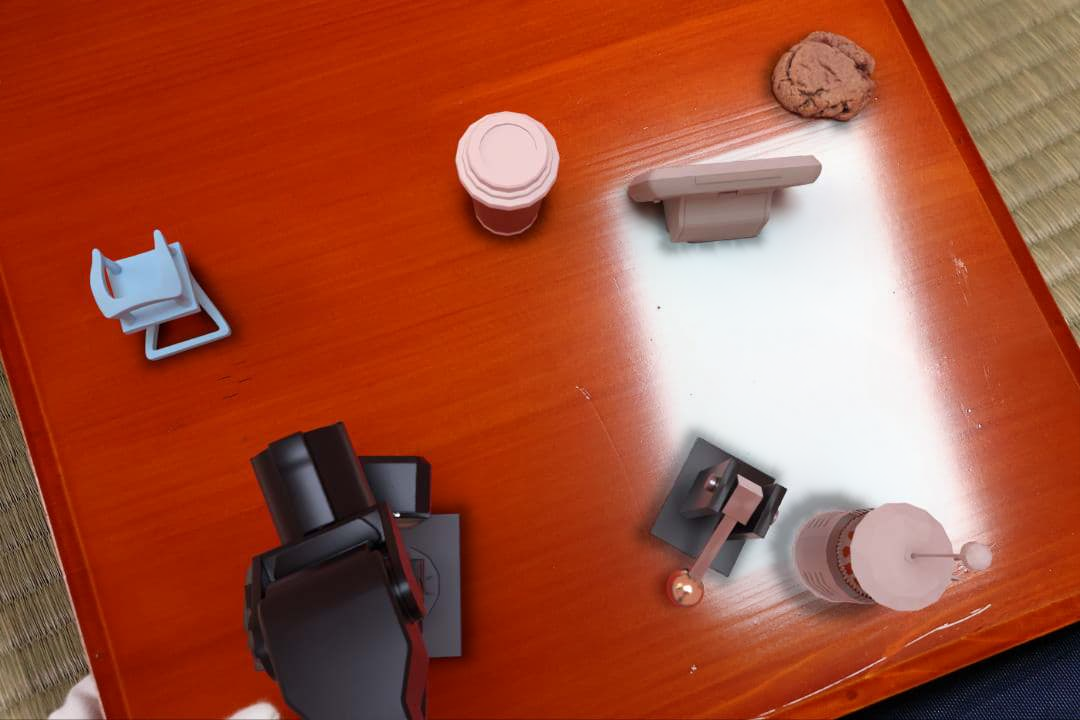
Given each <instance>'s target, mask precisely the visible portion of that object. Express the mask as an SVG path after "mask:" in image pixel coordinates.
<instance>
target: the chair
mask: <svg viewBox="0 0 1080 720" xmlns="http://www.w3.org/2000/svg"><path fill="white" fill-rule="evenodd" d="M153 239H154V249H152V250H148V251H146V252H142V253H139V254H136V255H132V256H128V257H126V258H122V259H118V260H115V261H114V260H112V259H110V258H108V257H106V256H104V254H103V253H102V252H101V251H100V250H99V249H98V248H94V249H92V252H91V253H92V255H91V257H92V260H91V261H92V263H91V267H90V277H89V281H90V282H89V284H90V288H91V292H92V295H93V298H94V300H95V302H96V304H97V306H98V308H99V310H100V311H101V313H102V315H103V316H104V317H105V318H107V319H115V320H119V321H120V324H121V325H120V326H121V329H122V333H124V334H125V335H127V336H128V335H132V334H134V333H137V332H138V333H139V332H140V331H143V330H146V331H145V332H146V333H145V356H146V358H147V359H148V360H150V361H158V360H162V359H165V358H168V357H171V356H174V355H177V354H180V353H183V352H185V351H188V350H192V349H194V348H198V347H201V346H204V345H207V344H210V343H213V342H216V341H219V340H222V339H225V338H228V337H230V336H231V335H232V330H231V327H230V325H229V323H228V322H227V320H226V319H225V318H224V316H223V315H222V313H221V312H220V310H218V308H217V306H215V304H214V303H213V301H212V300H211V299H210V298H209V297H208V295H207V294H206V292H205V291H204V290H203V289H202V287H201V286H200V284H199V283H198V282H197V280H196V279H195V277H194V275H193V274H192V271H190V266H189V263H188V260H187V257H186V254H185V252H184V249H183V245H182V243H180V242H179V241H176V242H173V243H170V244H168V241H167V239H166V237H165V236H164V234H163V233H162V232H161V231H160V230H159V229H155V230H154V231H153ZM105 269H106V272H105ZM105 273H107V277H108V280H109V284H110V287H111V290H112V293H113V296H112V294H111V292H110V290H109V288H108V284H107V280H106V275H105ZM201 307H202V308H203V310H205V312H206V313H207V315H209V316H210V318H211V319H212V320H213V321H214V322H215V324H216V325H217V326H218V328H219V329H218V330H217V331H214V332H211V333H207V334H204V335H201V336H197V337H195V338H191V339H188V340H185V341H182V342H178V343H175V344H171V345H169V346H165V347H163V348H159V349H157V347H158V345H157V344H158V337H159V329H160V324H163V323H166V322H170V321H172V320H176V319H180V318H183V317H187V316H190V315H194V314H197V313H200V312H202V310H201Z"/></svg>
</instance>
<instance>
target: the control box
mask: <svg viewBox="0 0 1080 720" xmlns="http://www.w3.org/2000/svg"><path fill="white" fill-rule="evenodd" d="M399 532H400V534H401V537H402V540H403V543H404V546H405V549H406V552H407V555H408V558H409V559H424V558H425V575H424V608H425V612H426V617H425V618H424V620H423V634H421V635H422V638H423V641H424V644H425V647H426V650H427V653H428V656H429V659H432V658H453V657H454V658H455V657H461V656H462V654H463V635H462V631H463V627H462V626H463V625H462V623H463V622H462V560H461V514H460V513H431V518H430V519H428V520H426V521H424V522H422V523H421V524H419V525H417V526H415V527H413V528H412V529H410V530H399Z"/></svg>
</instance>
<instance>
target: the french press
mask: <svg viewBox="0 0 1080 720" xmlns="http://www.w3.org/2000/svg"><path fill="white" fill-rule="evenodd" d="M791 552H792V564H793V565H792V566H793V568H794V570H795V572H796V574H797V576H798V578H799V580H800V582H801V584H802V585H803V586H804V587H805V588H806V589H807V590H809V591H810V593H812V594H813V595H814V596H815V597H817V598H820V599H822V600H825V601H828V602H831V603H853V604H860V605H881V606H883V607H886V608H890V609H891V610H894V611H896V612H915V611H916V612H917V611H921V610H922V609H924V608H926V607H929V606H931V605H933V604H935V603H937V601H938V600H939V599H940V598H941V596H942V595H943V594H944V593H945V591H946V590H947V589H948V588H949V586H950V585H951V582H960V581H962V579H961V577H960V576H957V575H954V574H953V573H954V569H955V562H960V561H961V563H962V564H963V567H965V568H966V569H968V570H970V571H985V570H986V569H988V568H989V567H991V564H992V561H993V556H994V555H993V553H992V551H991V550H990V548H989V546H988V545H986V544H984V543H982V542H980V541H977V540H974V541H969V542H966V543H964V544H963V545H962V547H961V548H960V552H959V553H954V548H953V543H952V542H951V539H950V538H949V536H948V534H947V532H946V530H945V528H944V526H943V525H942V523H941V522H940V521H939V520H937V519H936V518H935V517H934V516H933V515H932V514H930V512H929V511H927V510H926V509H923V508H921V507H918V506H916V505H913V504H911V503H908V502H886V503H883V504H882V505H880V506H878V507H876V508H875V507H865V508H858V509H856V508H855V509H849V510H822V511H821V512H820V511H819V512H818V513H816V514H814V515H812V516H809V517H808V518H807V519H806V520H805V521H804V522H803V523H802V524H801V526H800V527H799V528H798V529H797V531H796V533H795V536H794V540H793V542H792V547H791Z"/></svg>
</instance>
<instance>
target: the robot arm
mask: <svg viewBox="0 0 1080 720" xmlns="http://www.w3.org/2000/svg"><path fill="white" fill-rule="evenodd" d="M249 462H250V465H251V468H252V471H253V473H254V476H255V478H256V481H257V483H258V486H259V489H260V491H261V495H262V497H263V500H264V502H265V504H266V505H265V506H266V507H267V510H268V513H269V515H270V518H271V521H272V523H273V526H274V529H275V532H276V534H277V537H278V539H279V542H280V544H279V545H278V546H276V547H273V548H270V549H268V550H266V551H263V552H261V553H259V554H257V555H254V556H252V558H251V564H250V565H249V566H248V568H247V570H246V573H245V584H244V586H243V587H244V600H243V615H242V617H243V618H242V625H243V629H244V631H245V632H246V634H247V638H246V639H247V640H246V648H247V649H249V652H250V654H251V658H252V659H253V661H254V665H253V666H254V667H253V669H254V671H255V672H265V673H266V674H267V676H268V677H269V679H271V681H272V682H273V683H275V684H277V685H278V688H279V691H280V695H281V697H282V700H283V702H284V705H286V707H287V708H288V709H290V711H292V712H293V713H294V714H295V715H297V717H299V718H300V719H301V720H428V700H429V699H428V697H429V694H428V693H429V692H428V691H429V684H428V683H429V682H428V673H429V667H430V658H429V656H428V653H427V650H426V647H425V644H424V641H423V638H422V635H421V634H423V620H424V618H425V617H426V612H425V608H424V575H425V558H424V559H409V558H408V555H407V552H406V549H405V546H404V543H403V540H402V537H401V534H400V532H399V530H410V529H412V528H413V527H415V526H417V525H419V524H421V523H422V522H424V521H426V520H428V519H430V518H431V514H432V505H433V502H432V501H433V465H432V464H431V463H430V461H428V460H427V459H426V457H424V456H421V455H358V454H357V451H356V449H355V446H354V444H353V442H352V439H351V437H350V434H349V431H348V429H347V427H346V423H345V422H344V421H342V420H341V421H337V422H335V423H333V424H330V425H326V426H322V427H318V428H315V429H311V430H308V431H302V430H298V431H295V432H293V433H291V434H288V435H286V436H283V437H281V438H279V439H276V440H274V441H271V442H269V443H268V444H267V448H265V449H264V450H262V451H260V452H259V453H257V454H255V455H254V456H253V457H251V458H249Z"/></svg>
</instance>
